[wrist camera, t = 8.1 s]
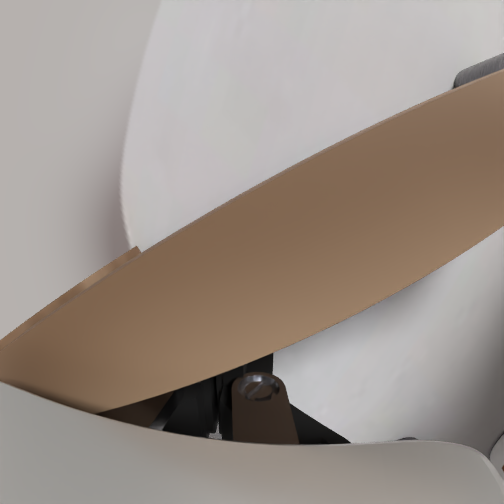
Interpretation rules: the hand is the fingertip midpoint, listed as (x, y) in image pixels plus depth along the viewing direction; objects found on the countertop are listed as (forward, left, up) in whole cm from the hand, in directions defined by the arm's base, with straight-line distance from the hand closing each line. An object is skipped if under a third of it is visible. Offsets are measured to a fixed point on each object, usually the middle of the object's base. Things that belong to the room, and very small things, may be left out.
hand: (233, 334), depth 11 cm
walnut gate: (-2, -5, -3) cm, 6 cm away
